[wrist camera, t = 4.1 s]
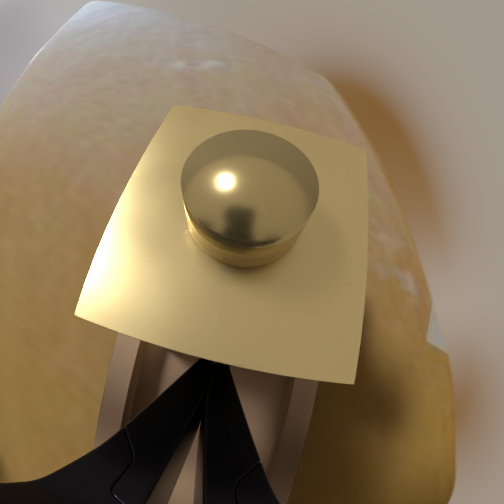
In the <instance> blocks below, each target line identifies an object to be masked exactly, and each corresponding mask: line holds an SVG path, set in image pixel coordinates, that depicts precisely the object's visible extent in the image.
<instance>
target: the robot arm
mask: <svg viewBox="0 0 504 504" xmlns="http://www.w3.org/2000/svg"><path fill="white" fill-rule="evenodd" d="M200 422H201V423H200ZM199 425H200V428H199ZM198 429H199V436H198V447H197V459H196V472H195V486H194V502H193V504H280V503H279V501H278V499H277V497H276V495H275V493H274V491H273V489H272V487H271V485H270V482H269V480H268V478H267V475H266V473H265V470H264V468H263V465H262V463H261V462H260V461H261V460H260V457H259V454H258V452H257V449H256V446H255V443H254V440H253V437H252V435H251V432H250V429H249V426H248V423H247V420H246V417H245V414H244V411H243V408H242V405H241V402H240V399H239V395H238V392H237V389H236V386H235V383H234V380H233V376H232V373H231V370H230V367H229V365H226V364H222V363H218V362H215V363H214V362H213V361H209V360H206V359H202V358H200V359H199V360H197V361H196V362H195V363H194V364H193V365H192V366H191V367H190V368H189V369H188V370H187V371H186V372H184V373H183V374H182V375H181V376H180V377H179V378H178V379H177V380H176V381H175V382H174V383H172V384H171V385H170V386H169V387H168V388H167V389H166V390H165V391H164V392H162V393H161V394H160V395H159V396H158V397H157V398H156V399H155V400H154V401H152V402H151V403H150V404H149V405H148V406H147V407H146V408H144V409H143V410H142V411H141V412H140V413H139V414H138V415H136V416H135V417H134V418H133V419H132V420H131V421H129V422H128V423H127V424H126V425H125V428H124V427H122V428H121V429H120V430H119V431H118V432H116V433H115V434H114V435H113V436H111V437H110V438H109V439H108V440H106V441H105V442H104V443H102V444H101V445H100V446H98V447H97V448H95V449H94V450H92V451H90V452H89V453H87V454H86V455H84V456H82V457H81V458H79V459H77V460H75V461H74V462H72V463H70V464H68V465H66V466H65V467H63V468H61V469H59V470H57V471H55V472H53V473H52V474H50V475H47V476H45V477H43V478H40V479H37V480H33V481H27V482H14V483H0V504H168V502H169V500H170V497H171V495H172V492H173V490H174V488H175V485H176V483H177V480H178V478H179V476H180V473H181V471H182V468H183V466H184V464H185V461H186V459H187V456H188V454H189V451H190V449H191V446H192V444H193V441H194V439H195V437H196V434H197V431H198Z"/></svg>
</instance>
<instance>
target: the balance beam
mask: <svg viewBox="0 0 504 504" xmlns="http://www.w3.org/2000/svg"><path fill="white" fill-rule="evenodd" d="M199 359H200V358H197V357H193V356H189V355H186V354H182V353H179V352H175V351H172V350H168V349H165V348H162V347H159V346H156V345H153V344H150V343H147V342H144V341H141V340H138V339H135V338H132V337H129V336H127V335H124V334H121V333H118V335H117V339H116V343H115V346H114V350H113V354H112V358H111V362H110V366H109V370H108V375H107V379H106V384H105V388H104V393H103V398H102V403H101V408H100V413H99V419H98V425H97V431H96V437H95V444H94V449H95V448H97V447H98V446H100V445H101V444H102V443H104V442H105V441H106V440H108V439H109V438H110V437H111V436H113V435H114V434H115V433H116V432H118V431H119V430H120V429H121V428H122V427H124V428H125V425H126V424H127V423H128V422H129V421H131V420H132V419H133V418H134V417H135V416H136V415H138V414H139V413H140V412H141V411H142V410H143V409H144V408H146V407H147V406H148V405H149V404H150V403H151V402H152V401H154V400H155V399H156V398H157V397H158V396H159V395H160V394H161V393H162V392H164V391H165V390H166V389H167V388H168V387H169V386H170V385H171V384H172V383H174V382H175V381H176V380H177V379H178V378H179V377H180V376H181V375H182V374H183V373H184V372H186V371H187V370H188V369H189V368H190V367H191V366H192V365H193V364H194V363H195V362H196V361H197V360H199ZM214 363H215V362H214ZM229 367H230V370H231V373H232V376H233V380H234V383H235V386H236V389H237V392H238V395H239V399H240V402H241V405H242V408H243V411H244V414H245V417H246V420H247V423H248V426H249V429H250V432H251V435H252V437H253V440H254V443H255V446H256V449H257V452H258V454H259V457H260V460H261V461H260V462H261V463H262V465H263V468H264V470H265V473H266V475H267V478H268V480H269V482H270V485H271V487H272V489H273V491H274V493H275V495H276V497H277V499H278V501H279V503H280V504H287V503H288V500H289V497H290V494H291V490H292V487H293V484H294V481H295V477H296V474H297V470H298V467H299V463H300V460H301V456H302V452H303V449H304V445H305V441H306V437H307V433H308V429H309V424H310V420H311V416H312V411H313V407H314V402H315V398H316V393H317V388H318V383H319V381H315V380H307V379H299V378H292V377H286V376H280V375H273V374H268V373H263V372H257V371H252V370H247V369H243V368H238V367H234V366H229ZM200 423H201V422H200ZM199 428H200V425H199ZM198 436H199V429H198V431H197V434H196V437H195V439H194V441H193V444H192V446H191V449H190V451H189V454H188V456H187V459H186V461H185V464H184V466H183V468H182V471H181V473H180V476H179V478H178V480H177V483H176V485H175V488H174V490H173V492H172V495H171V497H170V500H169V502H168V504H193V502H194V486H195V472H196V459H197V447H198Z"/></svg>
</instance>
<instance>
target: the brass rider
mask: <svg viewBox="0 0 504 504" xmlns="http://www.w3.org/2000/svg"><path fill="white" fill-rule="evenodd" d="M367 262H368V179H367V160H366V149H363V148H360V147H357V146H354V145H351V144H348V143H345V142H342V141H339V140H336V139H333V138H330V137H326V136H323V135H320V134H316V133H313V132H309V131H306V130H302V129H298V128H294V127H291V126H287V125H283V124H279V123H274V122H270V121H266V120H261V119H256V118H252V117H247V116H242V115H236V114H231V113H225V112H219V111H213V110H207V109H200V108H192V107H185V106H176V105H174V106H173V108H172V109H171V111H170V112H169V114H168V115H167V117H166V118H165V120H164V121H163V123H162V125H161V126H160V128H159V129H158V131H157V133H156V134H155V136H154V138H153V139H152V141H151V143H150V144H149V146H148V148H147V149H146V151H145V153H144V155H143V156H142V158H141V160H140V162H139V163H138V165H137V167H136V169H135V171H134V173H133V175H132V176H131V178H130V180H129V182H128V184H127V186H126V188H125V190H124V192H123V194H122V196H121V198H120V200H119V202H118V204H117V206H116V208H115V210H114V213H113V215H112V217H111V219H110V221H109V224H108V226H107V228H106V230H105V233H104V235H103V237H102V240H101V242H100V244H99V247H98V249H97V252H96V254H95V257H94V259H93V262H92V265H91V267H90V270H89V273H88V275H87V278H86V281H85V284H84V287H83V290H82V293H81V296H80V299H79V302H78V305H77V308H76V311H75V315H76V316H79V317H81V318H83V319H86V320H88V321H90V322H93V323H95V324H98V325H100V326H103V327H105V328H108V329H110V330H113V331H116V332H118V333H121V334H124V335H127V336H129V337H132V338H135V339H138V340H141V341H144V342H147V343H150V344H153V345H156V346H159V347H162V348H165V349H168V350H172V351H175V352H179V353H182V354H186V355H189V356H193V357H197V358H202V359H206V360H209V361H213V362H218V363H222V364H226V365H229V366H234V367H238V368H243V369H247V370H252V371H257V372H263V373H268V374H273V375H280V376H286V377H292V378H299V379H307V380H315V381H323V382H332V383H342V384H354V382H355V376H356V370H357V364H358V357H359V350H360V343H361V335H362V326H363V317H364V306H365V295H366V280H367Z"/></svg>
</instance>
